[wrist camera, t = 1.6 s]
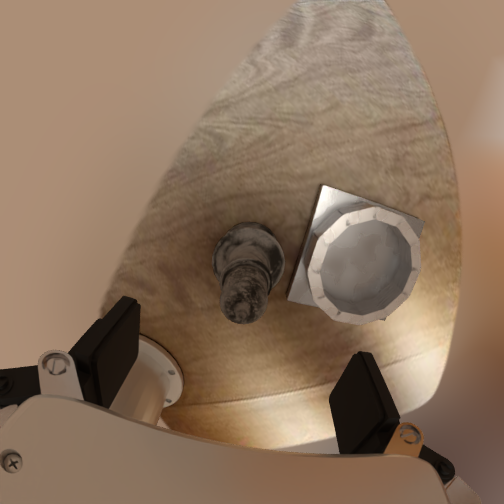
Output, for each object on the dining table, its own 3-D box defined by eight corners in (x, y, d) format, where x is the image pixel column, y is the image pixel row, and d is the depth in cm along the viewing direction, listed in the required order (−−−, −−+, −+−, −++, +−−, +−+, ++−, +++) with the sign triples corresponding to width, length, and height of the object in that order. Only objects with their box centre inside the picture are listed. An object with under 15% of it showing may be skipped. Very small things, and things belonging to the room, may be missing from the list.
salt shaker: (205, 251, 26) (166, 317, 15) (248, 205, 25) (236, 242, 13) (251, 291, 27) (245, 375, 16) (295, 248, 26) (319, 315, 15)
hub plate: (380, 315, 28) (393, 333, 24) (286, 294, 27) (289, 313, 24) (418, 218, 25) (438, 227, 21) (320, 184, 24) (330, 187, 21)
